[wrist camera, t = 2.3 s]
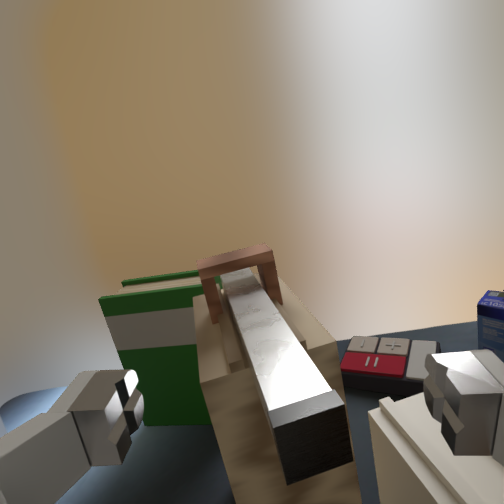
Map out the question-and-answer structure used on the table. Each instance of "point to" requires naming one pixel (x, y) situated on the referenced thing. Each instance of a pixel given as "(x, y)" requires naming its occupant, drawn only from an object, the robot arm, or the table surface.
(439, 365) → the robot arm
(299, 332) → the paper bag with handle
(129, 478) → the table surface
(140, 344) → the hardback book
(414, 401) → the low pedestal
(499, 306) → the ink cartridge box
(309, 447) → the grey square bar
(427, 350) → the calculator
